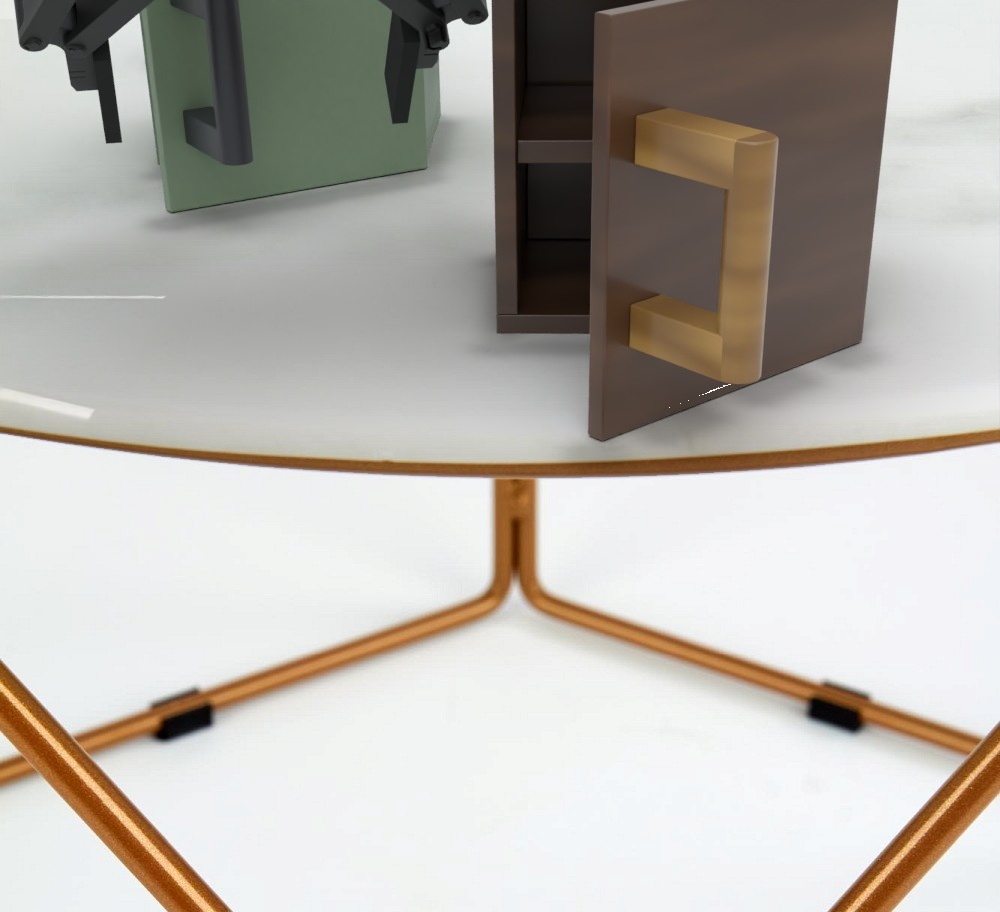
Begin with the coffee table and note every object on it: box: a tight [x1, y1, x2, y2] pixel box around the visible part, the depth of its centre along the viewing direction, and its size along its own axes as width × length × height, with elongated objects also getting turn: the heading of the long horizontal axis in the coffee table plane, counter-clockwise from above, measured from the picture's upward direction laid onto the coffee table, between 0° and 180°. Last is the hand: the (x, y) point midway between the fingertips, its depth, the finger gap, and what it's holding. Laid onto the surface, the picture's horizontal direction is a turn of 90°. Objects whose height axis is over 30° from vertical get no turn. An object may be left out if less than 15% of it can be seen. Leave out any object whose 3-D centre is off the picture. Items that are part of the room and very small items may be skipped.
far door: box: [142, 0, 428, 213], centre depth 84 cm, size 6×15×14 cm, turn 121°
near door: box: [587, 0, 899, 442], centre depth 61 cm, size 6×15×14 cm, turn 131°
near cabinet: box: [491, 0, 655, 335], centre depth 72 cm, size 11×15×15 cm
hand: (255, 108), depth 82 cm, fingers open, 13 cm apart
